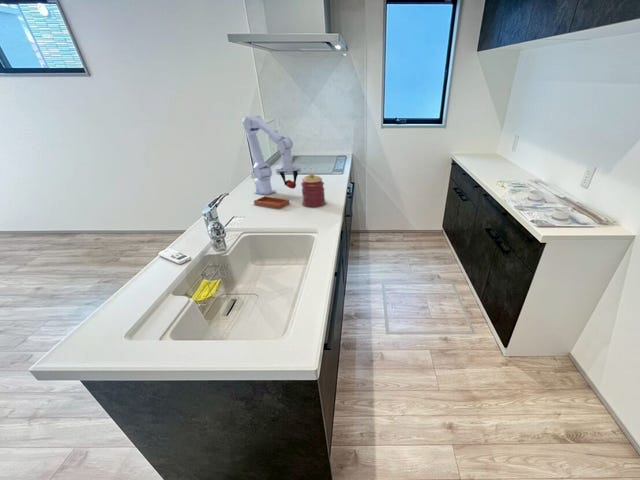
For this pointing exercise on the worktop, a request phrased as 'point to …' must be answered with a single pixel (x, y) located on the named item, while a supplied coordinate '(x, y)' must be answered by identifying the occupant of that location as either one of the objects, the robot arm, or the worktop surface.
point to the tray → (271, 202)
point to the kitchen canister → (313, 191)
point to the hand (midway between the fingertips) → (290, 184)
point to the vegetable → (290, 184)
